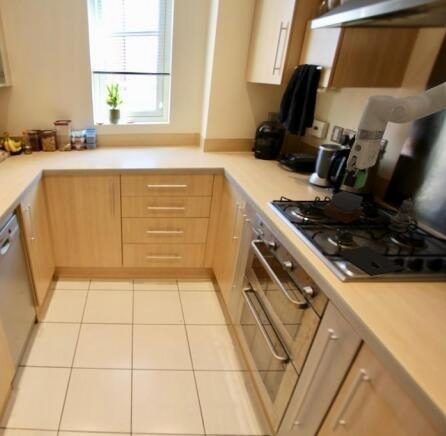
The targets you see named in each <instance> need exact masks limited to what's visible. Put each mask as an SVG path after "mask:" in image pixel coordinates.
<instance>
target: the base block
mask: <svg viewBox="0 0 446 436" xmlns="http://www.w3.org/2000/svg"><path fill="white" fill-rule="evenodd" d="M330 203H331V201H330V202H327V203H325V205H324V208H323V211H322V215H324V216H325V217H327V218H331V219H333V220H336V221H338V222H341V223H344V224H349V223H351V222H353V221H356V220H359V219H360V218H361V216H362V215H363V214H362V213H363V211H364V208H365V207H364V206H361V205H360V207H358V208H356V209H353V210H351V211H347V210H344V209H342V208H339V207H336V206H333V205H331V204H330Z"/></svg>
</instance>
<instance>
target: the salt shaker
mask: <svg viewBox="0 0 446 436" xmlns="http://www.w3.org/2000/svg"><path fill="white" fill-rule="evenodd" d="M414 206H415V202H414V200H412V197H409V198H408V199H403V201H402V203H401V205H400V207H398V212H397V214H396V215H391V216H390V224H388V225H387V228H389V229H390V230H392V231H395V232H399V233H404V232H407V227H408V226H409V225H411V224H412V222H413V221H412V220H411V219H410V218H409V217H410V214H411V213H412V212H413V210H412V209H413V207H414Z"/></svg>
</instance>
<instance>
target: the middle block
mask: <svg viewBox="0 0 446 436" xmlns="http://www.w3.org/2000/svg"><path fill="white" fill-rule="evenodd" d="M363 199H364V197H363V196H362V195H358V194H354V193H351V192H348V191H345V190H343V191H340V192H337V193H334V194H332V196H331V200H330V202H331V203H330V202H329V203H330V204H331V205H333V206H336V207H339V208H342V209H344V210H347V211H351V210H353V209H356V208H358V207H360V206H361V204H362V202H363Z"/></svg>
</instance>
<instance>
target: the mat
mask: <svg viewBox="0 0 446 436" xmlns="http://www.w3.org/2000/svg"><path fill="white" fill-rule="evenodd" d="M335 254H337V255H338V256H340V257H341V258H343V259H344V260H346V261H347V262H349V263H350V264H352V265H354V266H355V267H357V268H358V269H359V270H360V271H363V272H364V273H365V274H367V275H368V276H370V277H372V276H377V275H381V274H388V273H393V272H396V271H397V272H398V271H401V270H405V267H404V266H402V265H400V264H398V263H397V262H395V261H393V260H392V259H390V258H388V257H386V256H385V255H383V254H381V253H379V252H378V251H377V250H374V249H373V248H372V247H369V246H362V247H357V248H351V249H345V250H341V251H336V253H335ZM371 261H374V262H376V263H378V264H379V265H380V266H381V268H376V267H374V266H371V264H370V262H371ZM395 263H396V264H398V265H396V264H395ZM394 264H395V265H394Z"/></svg>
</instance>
